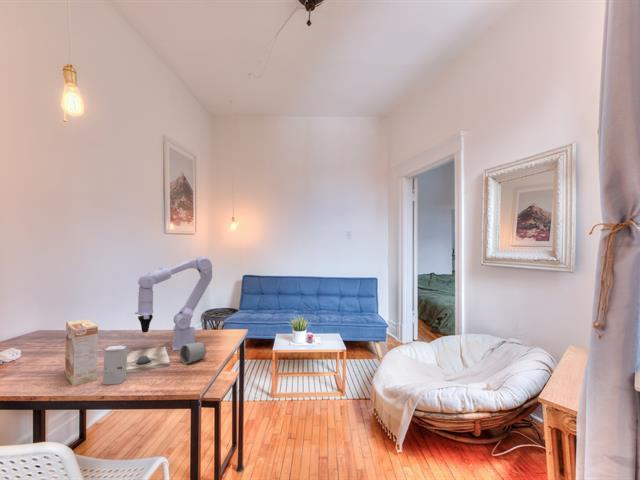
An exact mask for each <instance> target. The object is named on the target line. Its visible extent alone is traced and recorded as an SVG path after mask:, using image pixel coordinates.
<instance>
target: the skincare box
mask: <svg viewBox="0 0 640 480" xmlns="http://www.w3.org/2000/svg"><path fill="white" fill-rule="evenodd" d="M128 347H129V346H128V345H109V346H108V347H106V348H105V349H104V353H103V355H104V356H103V369H102V370H103V371H102V385H103V386H104V385H106V386H107V385H120V384H122V383H123V382H124V381H126V379H127V374H126V366H127V352H128Z"/></svg>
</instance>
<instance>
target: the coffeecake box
mask: <svg viewBox="0 0 640 480" xmlns="http://www.w3.org/2000/svg"><path fill="white" fill-rule="evenodd" d="M65 322H66V323H65V328H66V329H65V358H64V360H65V363H64V365H65V366H64V375H65V376H66V378H67V379H68V381H69V382H70V384H71V386H73V387H74V386H79V385H82V384H83V385H84V384H86V383H90V382H94V381H97V377H98V376H97V374H98V373H97V372H98V371H97V370H98V341H99V340H98V334H99V333H98V331H99V328H98V327H99V326H98V325H97V324H96V323H94V322H93V321H92V320H90V319H89V318H84V319H77V320H76V319H75V320H69V321H65Z"/></svg>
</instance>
